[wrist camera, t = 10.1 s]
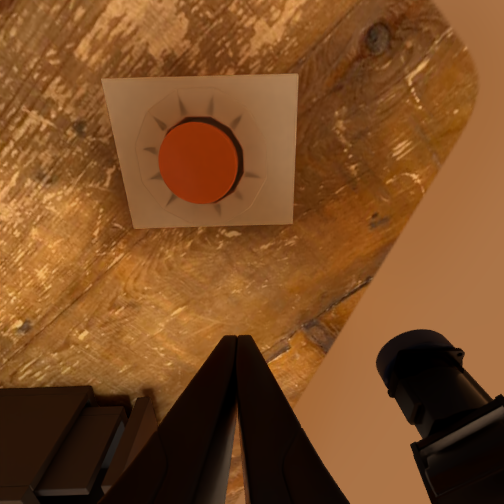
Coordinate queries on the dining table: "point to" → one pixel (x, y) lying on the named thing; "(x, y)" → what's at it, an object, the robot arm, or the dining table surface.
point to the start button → (198, 162)
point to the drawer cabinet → (34, 435)
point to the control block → (223, 117)
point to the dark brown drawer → (96, 453)
